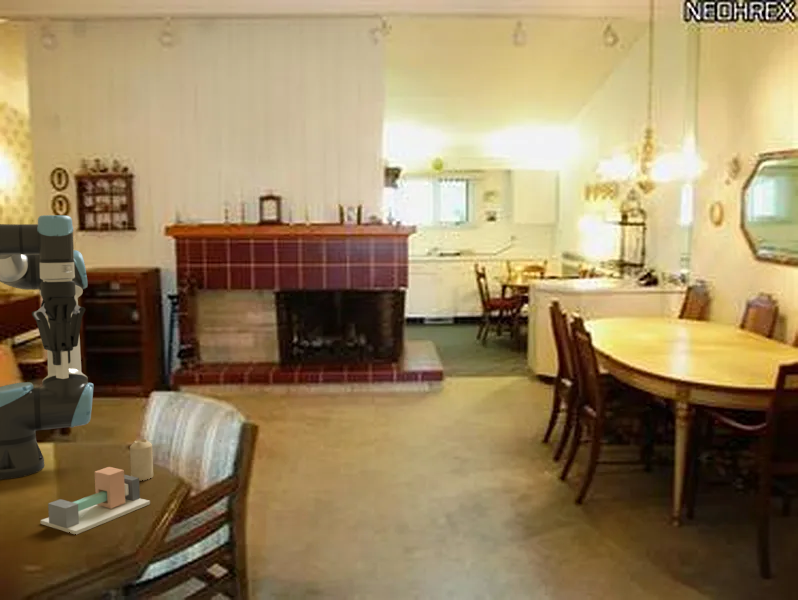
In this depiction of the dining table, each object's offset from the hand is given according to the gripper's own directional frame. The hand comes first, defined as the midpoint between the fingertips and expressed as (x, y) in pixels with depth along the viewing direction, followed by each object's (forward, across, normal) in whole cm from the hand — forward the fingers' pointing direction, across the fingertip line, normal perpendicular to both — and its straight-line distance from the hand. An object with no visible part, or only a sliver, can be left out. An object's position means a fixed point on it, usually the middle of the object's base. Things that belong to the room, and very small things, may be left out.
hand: (62, 377), depth 174 cm
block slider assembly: (+29, -4, -16) cm, 34 cm away
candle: (+30, +18, -5) cm, 35 cm away
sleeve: (+28, 0, -16) cm, 33 cm away
